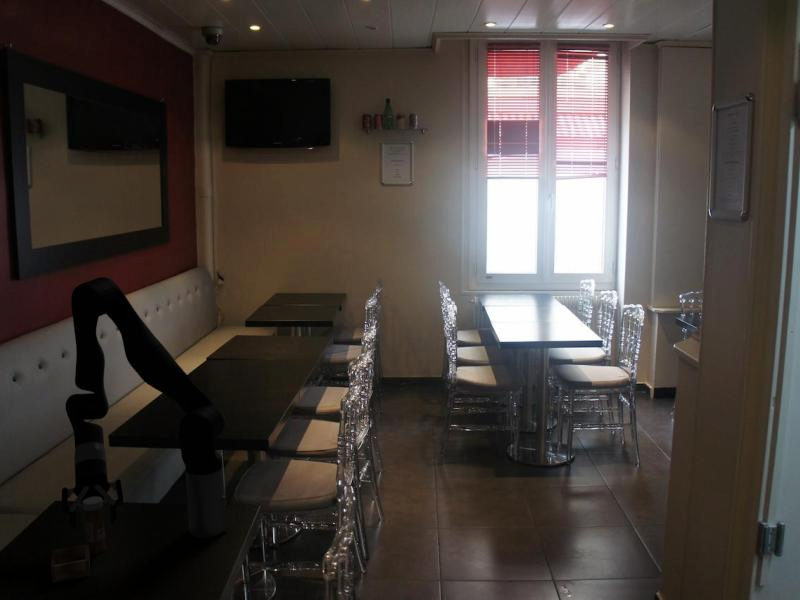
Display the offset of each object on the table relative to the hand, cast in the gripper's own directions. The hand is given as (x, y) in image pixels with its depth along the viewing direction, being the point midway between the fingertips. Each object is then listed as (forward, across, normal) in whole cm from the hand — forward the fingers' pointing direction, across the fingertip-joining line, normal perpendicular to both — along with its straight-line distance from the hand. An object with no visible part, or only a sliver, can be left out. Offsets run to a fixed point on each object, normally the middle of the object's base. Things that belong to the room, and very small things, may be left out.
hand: (94, 525), depth 184 cm
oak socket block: (+10, -5, 0) cm, 11 cm away
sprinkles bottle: (+4, 0, +6) cm, 8 cm away
